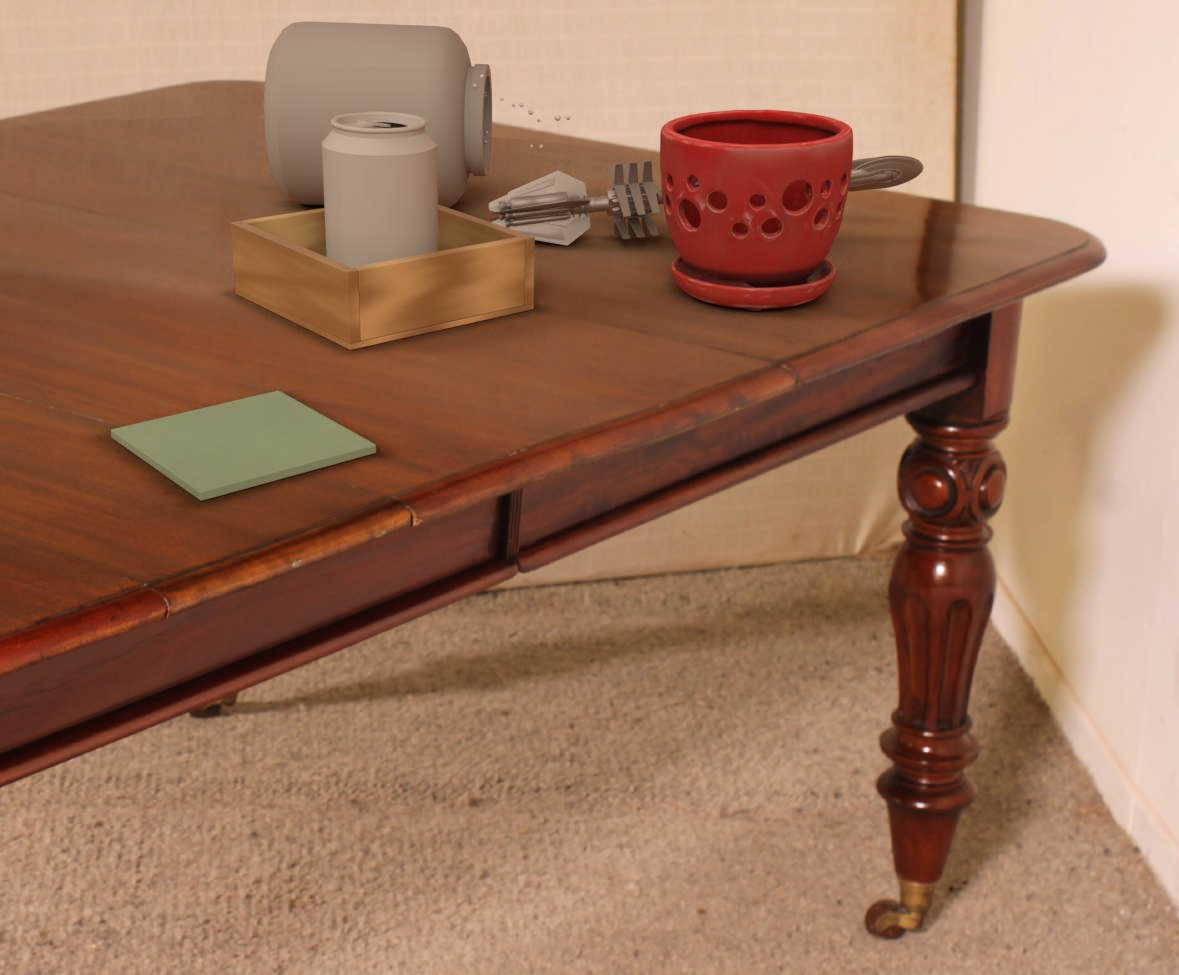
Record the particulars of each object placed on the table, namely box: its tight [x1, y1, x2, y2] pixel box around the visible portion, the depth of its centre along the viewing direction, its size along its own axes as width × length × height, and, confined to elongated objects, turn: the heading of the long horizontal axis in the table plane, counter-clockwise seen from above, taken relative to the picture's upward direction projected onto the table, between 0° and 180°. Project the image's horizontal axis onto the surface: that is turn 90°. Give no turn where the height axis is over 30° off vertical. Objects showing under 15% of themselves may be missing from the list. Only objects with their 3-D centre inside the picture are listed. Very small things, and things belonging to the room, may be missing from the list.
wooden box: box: [230, 205, 536, 351], centre depth 101 cm, size 15×15×5 cm
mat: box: [110, 390, 377, 502], centre depth 78 cm, size 10×10×1 cm
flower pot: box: [659, 109, 854, 312], centre depth 104 cm, size 13×13×12 cm
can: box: [322, 112, 438, 268], centre depth 99 cm, size 8×8×12 cm
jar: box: [263, 21, 572, 208], centre depth 124 cm, size 19×15×25 cm
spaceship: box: [488, 154, 924, 247], centre depth 118 cm, size 8×35×8 cm
